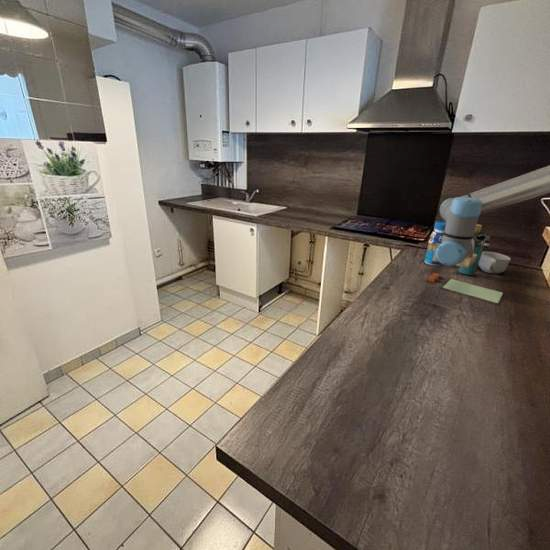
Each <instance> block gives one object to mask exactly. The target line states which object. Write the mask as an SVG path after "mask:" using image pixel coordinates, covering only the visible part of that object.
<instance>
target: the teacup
mask: <svg viewBox="0 0 550 550" xmlns="http://www.w3.org/2000/svg"><path fill="white" fill-rule="evenodd" d="M511 260H512V259H511V257H510V256H508V255H505V254H502V253H499V252H494V251H481V255H480V259H479V262H478V267H479V268H480V269H481V270H482V271H483V272H486V273H488V274H495V275H496V274H501V273H503V272H505V271H506V270H507V268H508V266H509V263H510V261H511Z"/></svg>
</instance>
